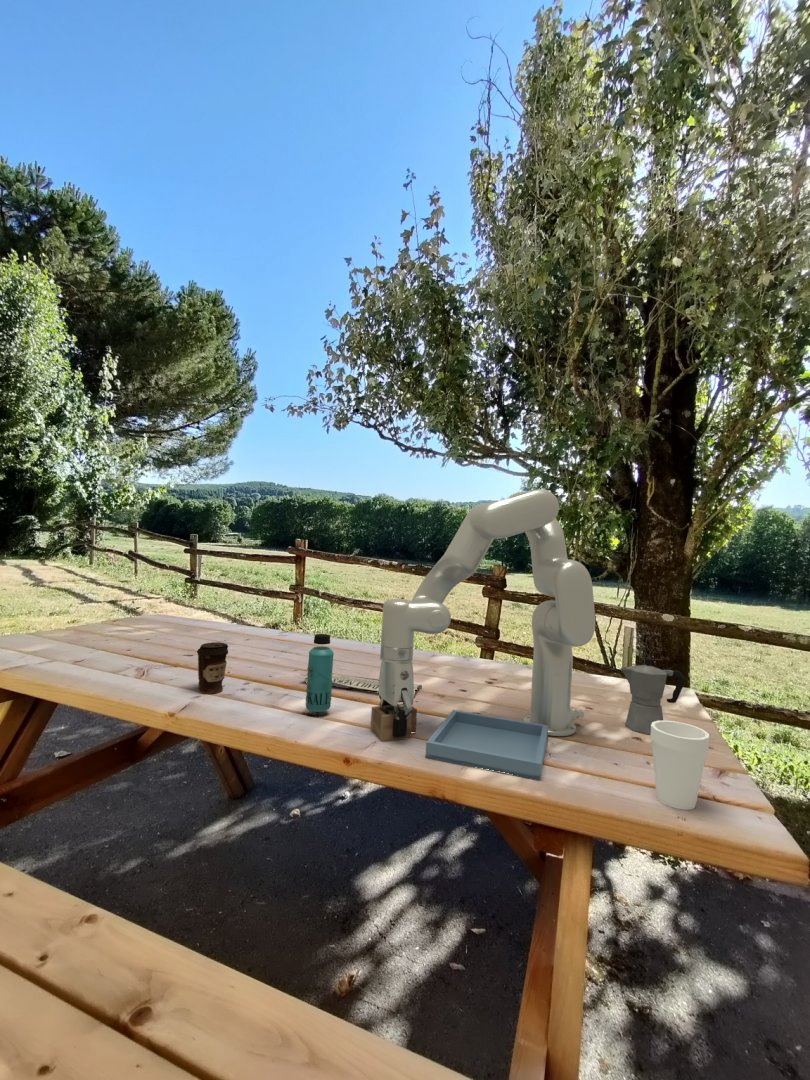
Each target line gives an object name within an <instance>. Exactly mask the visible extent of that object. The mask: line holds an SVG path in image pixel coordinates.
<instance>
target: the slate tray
mask: <svg viewBox="0 0 810 1080" xmlns="http://www.w3.org/2000/svg"><path fill="white" fill-rule="evenodd" d="M548 737H549V735H548V725H543V724H536V723H530V722H524V720H517V719H511V718H506V717H499V716H493V715H488V714H483V713H481V714H480V713H475V712H470V711H469V712H468V711H463V710H457V709H453V710H451V712H450V713H449V714H448V715H447V716H446V718H445V719H444V720H443V721H442V723H441V724H440V725H439V726H438V727H437V729H436V730H435V731H434V732H433V733H432V734H431V736H430V737H429V739H428V740H427V741H426V744H425V745H426V747H425V759H429V760H430V759H431V760H435V761H440V762H446V763H450V764H454V765H455V764H456V765H458V766H459V765H460V766H465V767H469V768H474V769H475V767H477V768H476V769H479V768H483V769H482V770H484V769H489V770H494V771H500V772H505V773H509V774H513V775H512V776H514V775H518V776H517V777H519V776H523V777H522V778H524V777H527V778H526V779H529V778H532V779H531V780H534V779H536V780H535V781H539V780H540V781H541V778H542V777H541V776H542V773H543V771H542V770H543V767H544V766H543V765H544V761H545V754H546V750H547V744H548V740H549V738H548ZM489 770H488V771H489ZM494 771H493V772H494ZM509 774H508V775H509Z"/></svg>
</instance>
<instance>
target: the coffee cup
mask: <svg viewBox="0 0 810 1080" xmlns="http://www.w3.org/2000/svg"><path fill="white" fill-rule="evenodd" d="M228 648H229V645H228V644H227V643H224V642H219V641H218V642H214V641H213V642H206V643H203V644H201V645H200V647H199V648H198V649H197V651H196V653H197V673H198V676H197V677H198V692H199V693H200V694H216V693H217V694H218V693H220V692H222V691H223V690H224V688H223V687H224V685H223V681H224V679H225V673H226V668H227V655H229V650H228Z"/></svg>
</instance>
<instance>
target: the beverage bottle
mask: <svg viewBox="0 0 810 1080" xmlns="http://www.w3.org/2000/svg"><path fill="white" fill-rule="evenodd" d="M313 638H314V639H313V643H314V644H315V645H320V646H314V647H312V649H310V650H309V651H308V662H307V673H306V674H307V676H308V678H307V676H306V678H307V683H306V689H305V690H306V694H305V703H304V705H305V708H306V710H307V711H310V712H317V713H318V712H326V711H329V710H330V708H331V706H332V705H331V704H332V694H333V693H332V690H333V687H332V673H333V665H334V653H335V652H334V651H333V649H331V648H330V647H327V646H321V645H330V644H331V635H329V634H325V633H317V634H314V637H313Z"/></svg>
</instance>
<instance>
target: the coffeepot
mask: <svg viewBox="0 0 810 1080" xmlns="http://www.w3.org/2000/svg"><path fill="white" fill-rule="evenodd" d="M644 662H645V664H640V665H631V666H623V667H620V668H619V670H620V671H621V672H622V673H623V675H624V676H625V679H626V680H627V682H628V685H629V693H630V694H631V700H630V704H629V707H628V712H627V717H626V720H625V727H627V728H628V729H629V730H631V731H633V732H636V733H639V734H643V735H644V734H645V735H649V736H650V734H651V724H652V722H655V721H664V715H663V714H664V713H663V706H662V705H661V703H662V702H661V699H662V698H663V696H664V693H665V686H666V682H667V679H677V682H676V683H675V688H674V689H673V692H672V697H671V698H666V701H667V702H666V703H670V704H676V703H677V702H678V698H679V697H680V694H681V693H682V690H683V688H684V687H685V684H686V677H685V676H684V675H683V674H682V672H681V671H679V670H674V669H673V670H671V669H661V668H658V667H655V666H653V665H651V664H652V662H653V659H651V658H644Z"/></svg>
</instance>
